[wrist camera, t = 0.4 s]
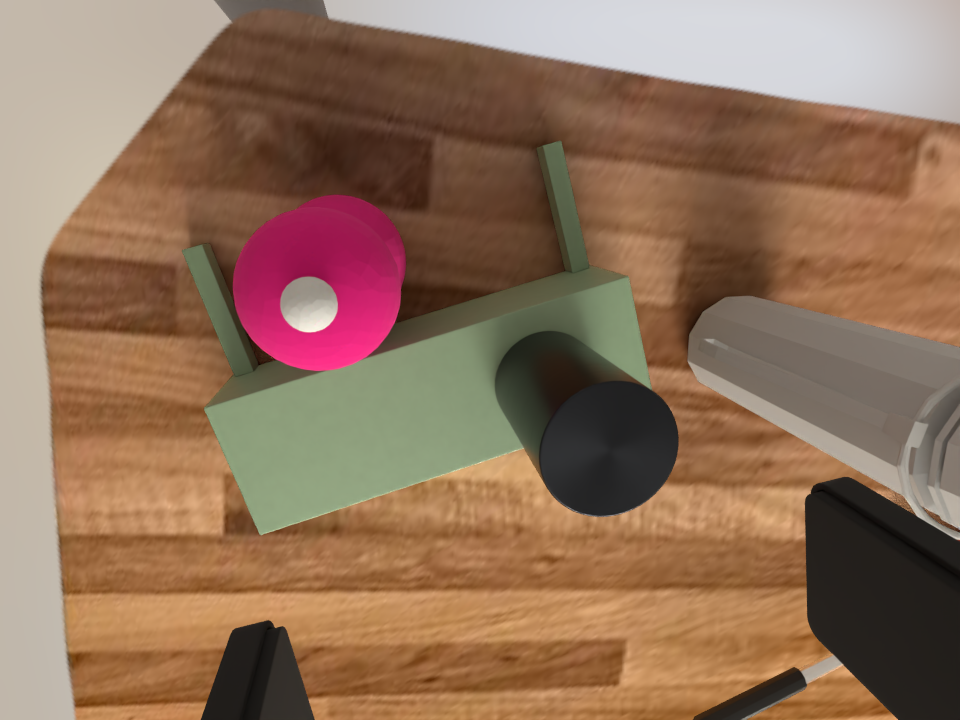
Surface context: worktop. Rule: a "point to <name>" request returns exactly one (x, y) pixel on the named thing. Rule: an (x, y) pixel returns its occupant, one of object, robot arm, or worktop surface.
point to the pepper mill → (321, 283)
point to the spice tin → (586, 424)
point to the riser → (403, 382)
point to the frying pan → (771, 691)
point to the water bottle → (843, 392)
